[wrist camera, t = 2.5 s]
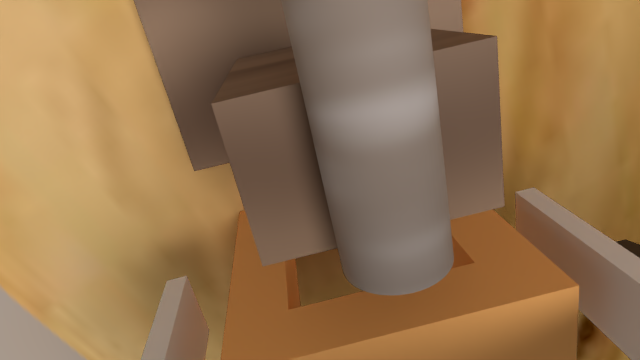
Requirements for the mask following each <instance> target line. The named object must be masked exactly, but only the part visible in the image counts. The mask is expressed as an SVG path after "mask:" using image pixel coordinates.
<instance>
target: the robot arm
mask: <svg viewBox="0 0 640 360" xmlns="http://www.w3.org/2000/svg"><path fill="white" fill-rule="evenodd" d="M515 202H516V230H517V231H518V232H519V233H520V234H521V235H522V236H524V237H525V238H526V239H527V240H528V241H529V242H530V243H532V244H533V245H534V246H535V247H536V248H537V249H538V250H540V251H541V252H542V253H543V254H544V255H545V256H546V257H548V258H549V259H550V260H551V261H552V262H553V263H554V264H555V265H557V266H558V267H559V268H560V269H561V270H562V271H563V272H565V273H566V274H567V275H568V276H569V277H570V278H571V279H573V280H574V281H575V282H576V283H577V284H578V285H579V307H578V309H579V310H580V311H581V312H582V313H583V314H584V315H585V316H586V317H587V318H588V319H589V320H590V321H591V322H592V323H593V324H594V325H595V326H597V327H598V328H599V329H600V330H601V331H602V332H603V333H604V334H605V335H606V336H607V337H608V338H609V339H610V340H611V341H612V342H613V343H614V344H615V345H616V346H617V347H618V348H620V349H621V350H622V351H623V352H624V353H625V354H626V355H627V356H628V357H629V358H630V359H631V360H640V245H639V244H636V243H634V242H631V241H628V240H621V241H618V242H615V241H613V240H612V239H610V238H609V237H607V236H606V235H604V234H603V233H601V232H600V231H598V230H597V229H595V228H594V227H592V226H591V225H589V224H588V223H586V222H585V221H583V220H582V219H580V218H579V217H577V216H576V215H574V214H573V213H571V212H570V211H568V210H567V209H565V208H564V207H562V206H561V205H559V204H558V203H556V202H555V201H553V200H552V199H550V198H549V197H547V196H546V195H544V194H543V193H541V192H540V191H538V190H537V189H535V188H534V187H533V188H529V189H525V190H521V191H518V192H515ZM208 335H209V328H208V326H207V323H206V321H205V319H204V316H203V314H202V311H201V309H200V306H199V304H198V302H197V299H196V297H195V294H194V292H193V290H192V287H191V285H190V282H189V280H188V277H187V276H183V277H180V278H176V279H172V280H168V281H167V282H166V285H165V288H164V291H163V294H162V297H161V300H160V303H159V306H158V309H157V312H156V315H155V318H154V321H153V324H152V327H151V330H150V333H149V336H148V339H147V342H146V345H145V348H144V351H143V355H142V358H141V360H205V355H206V348H207V342H208Z"/></svg>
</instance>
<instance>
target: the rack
mask: <svg viewBox="0 0 640 360" xmlns="http://www.w3.org/2000/svg"><path fill="white" fill-rule="evenodd" d="M134 2H135V5H136V8H137V11H138V14H139V16H140V19H141V22H142V25H143V28H144V31H145V33H146V36H147V39H148V42H149V45H150V47H151V50H152V53H153V56H154V59H155V62H156V64H157V67H158V70H159V73H160V76H161V78H162V81H163V84H164V87H165V90H166V92H167V95H168V98H169V101H170V104H171V107H172V109H173V112H174V115H175V118H176V121H177V123H178V126H179V129H180V132H181V135H182V138H183V140H184V143H185V146H186V149H187V152H188V154H189V157H190V160H191V163H192V166H193V169H194V171H197V170H201V169H205V168H209V167H213V166H218V165H222V164H226V163H230V165H231V168H232V171H233V174H234V177H235V181H236V184H237V187H238V190H239V193H240V196H241V200H242V203H243V206H244V209H245V212H246V215H247V219H248V222H249V225H250V228H251V231H252V234H253V237H254V241H255V244H256V247H257V250H258V253H259V256H260V260H261V263H262V266H267V265H271V264H275V263H279V262H283V261H287V260H291V259H295V258H299V257H303V256H307V255H311V254H315V253H319V252H323V251H327V250H331V249H335V248H338V252H339V256H340V260H341V265H342V269H343V273H344V275H345V277H346V279H347V280H348V281H349V282H350V283H351V284H352V285H354V286H355V287H357V288H359V289H361V290H363V291H366V292H369V293H373V294H378V295H404V294H410V293H415V292H418V291H421V290H424V289H426V288H429V287H431V286H433V285H434V284H436V283H438V282H439V281H441V280H442V279H443V278H444V277H445V276H446V275H447V274H448V273H449V271H450V270H451V268H452V266H453V263H454V253H453V243H452V233H451V224H450V220H452V219H456V218H460V217H464V216H468V215H472V214H476V213H480V212H484V211H488V210H492V209H496V208H500V207H504V184H503V161H502V139H501V116H500V94H499V71H498V48H497V36H491V35H482V34H473V33H465V32H463V22H462V9H461V0H134Z"/></svg>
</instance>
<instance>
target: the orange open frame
mask: <svg viewBox="0 0 640 360" xmlns="http://www.w3.org/2000/svg"><path fill="white" fill-rule="evenodd" d="M450 224H451V233H452V243H453V253H454V263H453V266H452V268H451V270H450V271H449V273H448V274H447V275H446V276H445V277H444V278H443V279H442V280H441V281H439V282H438V283H436V284H434V285H433V286H431V287H429V288H426V289H424V290H421V291H418V292H415V293H410V294H404V295H378V294H373V293H369V292H366V291H361V292H357V293H353V294H349V295H345V296H341V297H337V298H333V299H329V300H325V301H321V302H317V303H313V304H310V305H306V306H302V307H301V304H300V296H299V288H298V279H297V271H296V262H295V259H291V260H287V261H283V262H279V263H275V264H271V265H267V266H262V263H261V260H260V256H259V253H258V250H257V247H256V244H255V241H254V237H253V234H252V231H251V228H250V225H249V222H248V219H247V215H246V212H245V210H244V211H240V213H239V221H238V229H237V236H236V244H235V252H234V260H233V268H232V275H231V283H230V291H229V299H228V307H227V314H226V322H225V330H224V338H223V346H222V353H221V360H577V334H578V307H579V285H578V284H577V283H576V282H575V281H574V280H573V279H571V278H570V277H569V276H568V275H567V274H566V273H565V272H563V271H562V270H561V269H560V268H559V267H558V266H557V265H555V264H554V263H553V262H552V261H551V260H550V259H549V258H548V257H546V256H545V255H544V254H543V253H542V252H541V251H540V250H538V249H537V248H536V247H535V246H534V245H533V244H532V243H530V242H529V241H528V240H527V239H526V238H525V237H524V236H522V235H521V234H520V233H519V232H518V231H517V230H516V229H515V228H513V227H512V226H511V225H510V224H509V223H508V222H507V221H505V220H504V219H503V218H502V217H501V216H500V215H499V214H497V213H496V212H495V211H494V210H493V209H492V210H488V211H484V212H480V213H476V214H472V215H468V216H464V217H460V218H456V219H452V220H450Z"/></svg>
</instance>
